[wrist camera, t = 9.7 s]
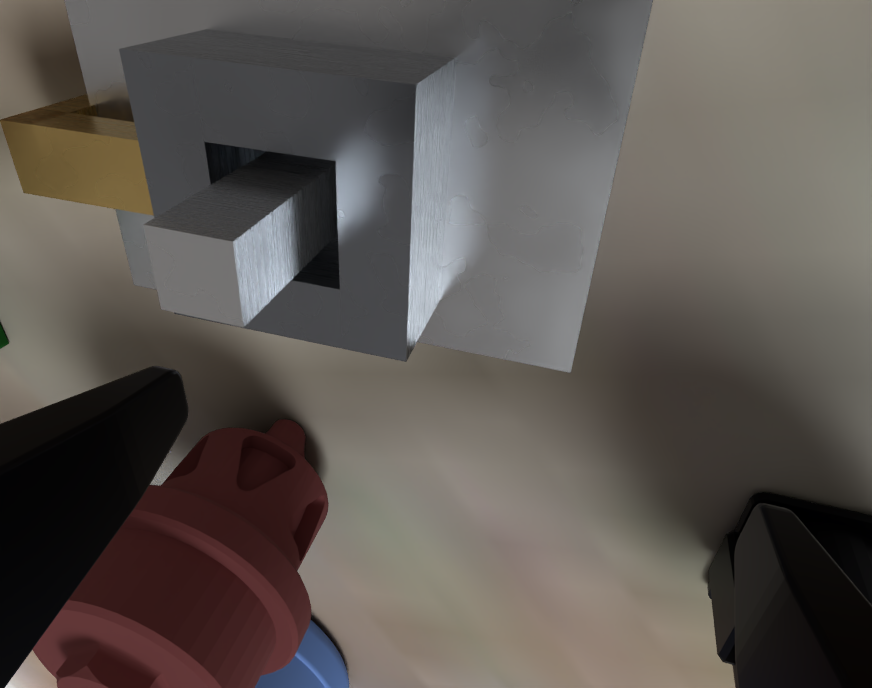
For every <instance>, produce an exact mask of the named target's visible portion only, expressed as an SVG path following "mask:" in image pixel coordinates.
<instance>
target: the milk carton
mask: <svg viewBox="0 0 872 688" xmlns="http://www.w3.org/2000/svg"><path fill="white" fill-rule="evenodd" d="M8 344H9V342H8V340H7V338H6V335H5V333H4V331H3V329H2V326H1V324H0V348H2V347H4V346H6V345H8Z"/></svg>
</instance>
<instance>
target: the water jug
mask: <svg viewBox="0 0 872 688" xmlns="http://www.w3.org/2000/svg"><path fill="white" fill-rule="evenodd" d="M255 688H349V679H348V673H347V670H346V667H345V664H344V661H343V659H342V657H341V655H340V654H339V652H338V650H337V649H336V647H335V646H334V644H333V643H332V642H331V640H330V639H329V638H328V637H327V635H326V634H325V633H324V632H323V631H322V630H321V629H320V628H319V627H318V626H317V625H316V624H315V623H314V622H313V621H312V620H310V624H309V627H308V629H307V631H306V633H305V635H304V637H303V639H302V642H301V644H300V646H299V648H298V650H297V652H296V654H295V656H294V657H293V659H292V660H291V661H290V663H289V664H287V665H286V666H285V667H283V668H282V669H280V670H277V671H275V672H273V673H269V674H265V675H261V676H260V678H259V680H258V682H257V684H256V686H255Z"/></svg>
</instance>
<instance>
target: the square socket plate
mask: <svg viewBox="0 0 872 688" xmlns="http://www.w3.org/2000/svg"><path fill="white" fill-rule="evenodd" d="M64 1H65V5H66V9H67V13H68V17H69V21H70V25H71V30H72V34H73V38H74V42H75V46H76V50H77V54H78V58H79V62H80V66H81V70H82V74H83V79H84V83H85V87H86V91H87V95H83V96H79V97H76V98H72V99H69V100H66V101H62V102H59V103H55V104H52V105H49V106H45V107H42V108H38V109H35V110H32V111H28V112H25V113H21V114H18V115H15V116H11V117H8V118H4V119H1V120H0V122H1V125H2V128H3V131H4V134H5V137H6V140H7V143H8V146H9V150H10V153H11V156H12V159H13V162H14V165H15V168H16V171H17V174H18V177H19V180H20V183H21V186H22V189H23V192H24V193H28V194H33V195H39V196H45V197H50V198H56V199H62V200H67V201H73V202H79V203H85V204H90V205H96V206H102V207H107V208H113V209H116V213H117V217H118V221H119V225H120V230H121V234H122V238H123V242H124V246H125V250H126V254H127V258H128V262H129V266H130V270H131V274H132V279H133V283H134V285H136V286H141V287H146V288H151V289H156V290H157V288H156V283H155V278H154V274H153V269H152V264H151V259H150V255H149V250H148V245H147V240H146V236H145V231H144V226H143V224H145V223H147V222H148V221H150V220H152V219H153V218H155V217H157V216H159V215H160V214H162V213H164V212H165V211H167V210H169V209H170V208H172V207H174V206H175V205H177V204H179V203H181V202H182V201H184V200H186V199H187V198H189V197H191V196H192V195H194V194H196V193H198V192H199V191H201V190H203V189H204V188H206V187H208V186H209V185H211V184H213V183H215V182H216V181H218V180H220V179H221V178H223V177H225V176H226V175H228V174H230V173H231V172H233V171H235V170H237V169H238V168H240V167H242V166H243V165H245V164H247V163H248V162H250V161H252V160H254V159H255V158H257V157H259V156H260V155H262V154H264V153H265V152H267V151H270V152H277V153H284V154H290V155H297V156H304V157H311V158H317V159H324V160H331V161H335V163H336V192H337V221H338V234H337V235H336V236H335V237H334V238H333V239H332V240H331V241H330V242H329V243H328V244H327V245H326V246H325V247H324V248H323V249H322V250H321V251H320V252H319V253H318V254H317V255H316V256H315V257H314V258H313V259H312V260H311V261H310V262H309V263H308V264H307V265H306V266H305V267H304V268H303V269H302V270H301V271H300V272H299V273H298V274H297V275H296V276H295V277H294V278H293V279H292V280H291V281H290V282H289V283H288V284H287V285H286V286H285V287H284V288H283V289H282V290H281V291H280V292H279V293H278V294H277V295H276V296H275V297H274V298H273V299H272V300H271V301H270V302H269V303H268V304H267V305H266V306H265V307H264V308H263V309H262V310H261V311H260V312H259V313H258V314H257V315H256V316H255V317H254V318H253V319H252V320H251V321H250V322H249V323H248V324H247V325H246V326H245V327H241V328H246V329H251V330H256V331H261V332H265V333H270V334H275V335H280V336H285V337H289V338H294V339H299V340H304V341H309V342H313V343H318V344H323V345H328V346H333V347H338V348H342V349H347V350H352V351H357V352H362V353H366V354H371V355H376V356H381V357H386V358H391V359H395V360H400V361H405V362H406V361H407V359H408V357H409V356H410V354H411V352H412V350H413V348H414V346H415V345H416V343H417V342H420V343H425V344H430V345H435V346H440V347H445V348H450V349H455V350H460V351H465V352H470V353H475V354H480V355H485V356H490V357H495V358H500V359H505V360H510V361H515V362H520V363H525V364H530V365H535V366H540V367H545V368H550V369H555V370H560V371H565V372H570V373H571V368H572V364H573V359H574V355H575V350H576V346H577V341H578V337H579V332H580V328H581V323H582V319H583V314H584V310H585V305H586V301H587V296H588V292H589V287H590V282H591V278H592V273H593V269H594V264H595V260H596V255H597V251H598V246H599V242H600V237H601V233H602V228H603V224H604V219H605V215H606V210H607V206H608V201H609V197H610V192H611V188H612V183H613V179H614V174H615V170H616V165H617V161H618V156H619V151H620V147H621V142H622V138H623V133H624V129H625V124H626V120H627V115H628V111H629V106H630V102H631V97H632V93H633V88H634V84H635V79H636V75H637V70H638V66H639V61H640V57H641V52H642V48H643V43H644V39H645V34H646V29H647V25H648V20H649V16H650V11H651V7H652V2H653V0H64ZM174 314H179V315H183V316H188V317H193V318H198V319H203V318H199V317H194V316H189V315H185V314H180V313H176V312H174ZM203 320H208V319H203ZM208 321H212V320H208ZM212 322H217V321H212ZM217 323H221V322H217ZM222 324H226V323H222ZM227 325H231V324H227ZM232 326H235V325H232ZM236 327H240V326H236Z"/></svg>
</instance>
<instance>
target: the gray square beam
mask: <svg viewBox="0 0 872 688" xmlns="http://www.w3.org/2000/svg"><path fill="white" fill-rule="evenodd" d="M143 226H144V231H145V236H146V240H147V245H148V250H149V255H150V259H151V264H152V269H153V274H154V278H155V283H156V288H157V292H158V297H159V302H160V307H161V309H162V310H166V311H171V312H176V313H180V314H185V315H189V316H194V317H199V318H203V319H208V320H212V321H217V322H221V323H226V324H231V325H235V326H240V327H245V326H246V325H247V324H248V323H249V322H250V321H251V320H252V319H253V318H254V317H255V316H256V315H257V314H258V313H259V312H260V311H261V310H262V309H263V308H264V307H265V306H266V305H267V304H268V303H269V302H270V301H271V300H272V299H273V298H274V297H275V296H276V295H277V294H278V293H279V292H280V291H281V290H282V289H283V288H284V287H285V286H286V285H287V284H288V283H289V282H290V281H291V280H292V279H293V278H294V277H295V276H296V275H297V274H298V273H299V272H300V271H301V270H302V269H303V268H304V267H305V266H306V265H307V264H308V263H309V262H310V261H311V260H312V259H313V258H314V257H315V256H316V255H317V254H318V253H319V252H320V251H321V250H322V249H323V248H324V247H325V246H326V245H327V244H328V243H329V242H330V241H331V240H332V239H333V238H334V237H335V236H336V235H337V234H338V221H337V192H336V163H335V161H331V160H324V159H317V158H311V157H304V156H297V155H290V154H284V153H277V152H270V151H267V152H265V153H264V154H262V155H260V156H259V157H257V158H255V159H254V160H252V161H250V162H248V163H247V164H245V165H243V166H242V167H240V168H238V169H237V170H235V171H233V172H231V173H230V174H228V175H226V176H225V177H223V178H221V179H220V180H218V181H216V182H215V183H213V184H211V185H209V186H208V187H206V188H204V189H203V190H201V191H199V192H198V193H196V194H194V195H192V196H191V197H189V198H187V199H186V200H184V201H182V202H181V203H179V204H177V205H175V206H174V207H172V208H170V209H169V210H167V211H165V212H164V213H162V214H160V215H159V216H157V217H155V218H153V219H152V220H150V221H148V222H147V223H145V224H143Z"/></svg>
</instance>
